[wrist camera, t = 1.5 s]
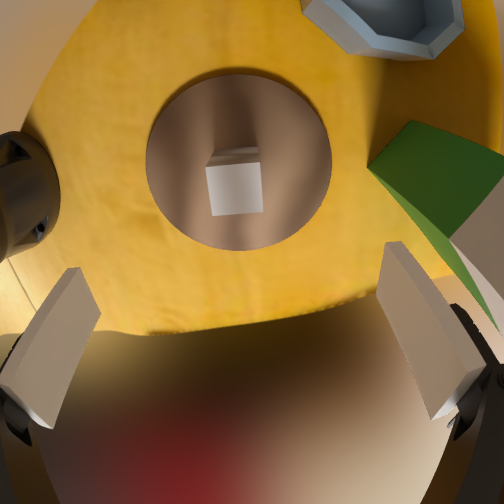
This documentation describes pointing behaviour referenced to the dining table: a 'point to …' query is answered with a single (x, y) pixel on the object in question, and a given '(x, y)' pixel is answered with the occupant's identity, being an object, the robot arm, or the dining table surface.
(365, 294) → the dining table surface
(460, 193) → the hardback book
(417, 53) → the bowl
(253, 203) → the lid
